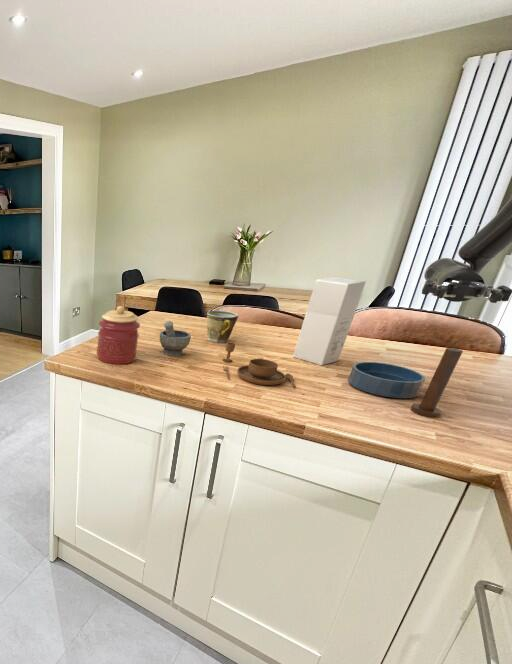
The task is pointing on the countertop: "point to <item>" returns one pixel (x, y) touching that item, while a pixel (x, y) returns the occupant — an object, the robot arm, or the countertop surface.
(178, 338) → the mortar and pestle
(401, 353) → the countertop surface
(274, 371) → the place setting
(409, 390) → the bowl
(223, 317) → the ceramic cup
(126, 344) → the kitchen canister
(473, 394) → the countertop surface
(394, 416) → the countertop surface
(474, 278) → the robot arm
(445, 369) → the brown post with base
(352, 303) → the tall white carton
